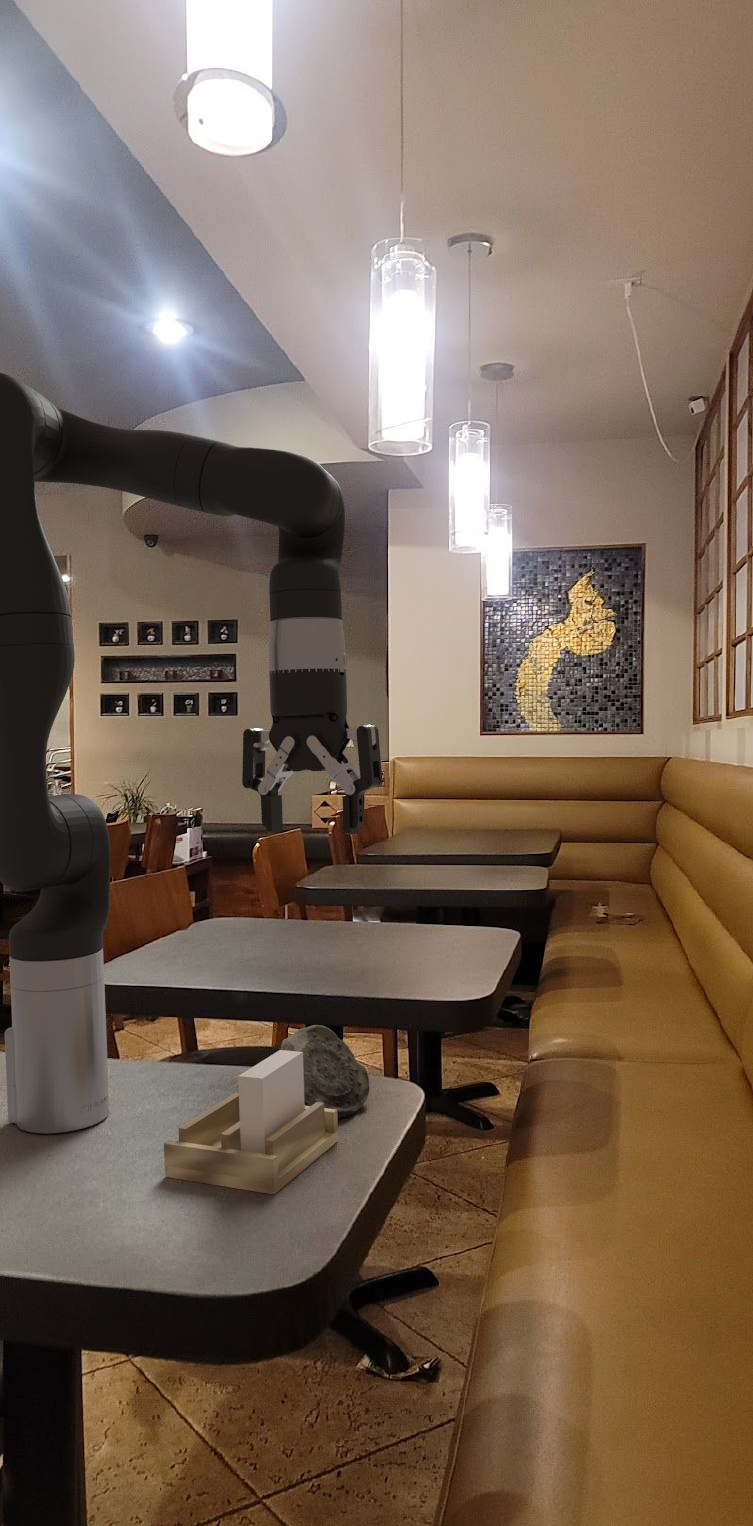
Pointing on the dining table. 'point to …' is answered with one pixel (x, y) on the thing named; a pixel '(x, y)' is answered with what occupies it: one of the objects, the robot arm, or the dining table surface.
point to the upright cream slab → (270, 1098)
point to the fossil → (329, 1070)
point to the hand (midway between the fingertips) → (312, 832)
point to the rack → (219, 1160)
